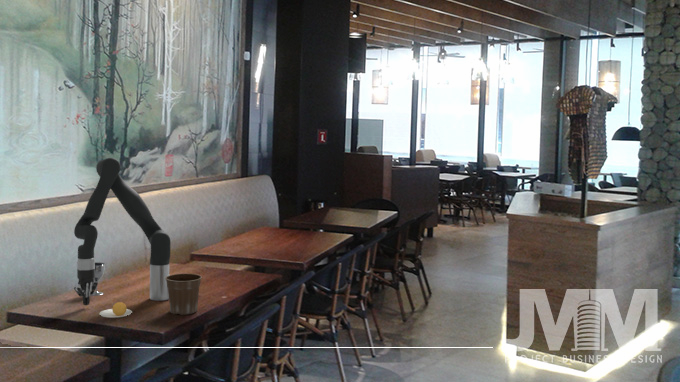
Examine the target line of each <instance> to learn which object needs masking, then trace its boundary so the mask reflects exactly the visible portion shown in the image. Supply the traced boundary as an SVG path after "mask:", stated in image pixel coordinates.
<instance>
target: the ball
mask: <svg viewBox="0 0 680 382" xmlns="http://www.w3.org/2000/svg"><path fill="white" fill-rule="evenodd" d="M111 309H112V311H113V313H114V314H115V315H117V316H121V315H123V314H124V313H125V312H126V309H128V308H127V305H126V303H124V302H122V301H117V302H116V303H114V304H113V306H112V308H111Z"/></svg>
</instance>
